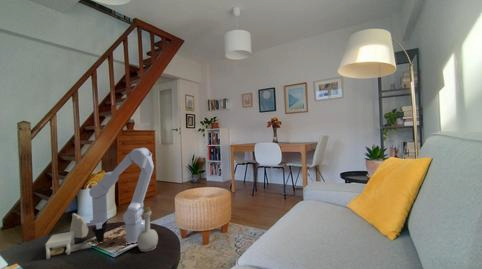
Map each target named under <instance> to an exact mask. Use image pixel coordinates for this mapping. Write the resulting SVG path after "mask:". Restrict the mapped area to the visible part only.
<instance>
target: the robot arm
mask: <svg viewBox="0 0 482 269" xmlns="http://www.w3.org/2000/svg"><path fill="white" fill-rule="evenodd" d="M152 157H153V153H152V152H151V151H150V150H149V148H146V147H140V148H134V149H132V150H131V151H130V152H129V153H127V155H126V156H125V157H124V158H123V160H121V162H119V164H118V165H117V166H116V167H115V168H114V169H113V170H112V171H108V172H105V173H104V174H103V177H102V178H101V179H100V180H98V181H97V182H96V184H95V185H92V186H91V187H90V189H89V191H88V193H89V196H90V197H91V200H92V202H91V204H92V219H90V220H89V223H90V224H94V225H95V227H92V228H91V231H92V232H93V234H94V235H95V239H96V240H97V242H98V243H100V242H103V239H104V240H105V232H106V230H107V227H108V226H107V224H108V221H109V219H108V218H109V217H108V205H107V204H108V202H107V200H108V199H107V198H108V196H107V195H108V193H109V191H110V189H112V187H113V186H114V185H115V184H116V183H117V182H118V181H119V176H120V175H121V174H122V173H123V172H124V171H125V170H126V169H127V168H128V167H129V166H130V165H131V164H136V165H137V166H138V167H139V169H140V173H139V176H138V180H137V183H136V186H135V189H134V193H133V195H132V199H131V202H130V204H129V205H128V207H127V209H126V211H125V212H124V214H123V215H122V220H123V223H124V224H125V238H126V241H127V242H131V243H132V242H137V239H138V236H139V234H140V233H141V232H142V231H144V230H145V219H143V218H142V216H143V213H142V212H144V204H145V203H144V200H145V196H146V194H147V192H148V188H149V185H150V182H151V178H152V175H153V172H154V169H155V167H154V166H155V165H154V162H153V158H152Z"/></svg>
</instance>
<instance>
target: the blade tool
mask: <svg viewBox="0 0 482 269" xmlns="http://www.w3.org/2000/svg"><path fill="white" fill-rule="evenodd" d="M103 241H104V242H105V238H104V239H103ZM85 243H86V242H81V243H77V244H74V245H71V246H70V253H71V252H76V251H80V250H85V249H89V248H92V247H91V246H92V245H88V244H85ZM65 254H67V248H66V250H65Z"/></svg>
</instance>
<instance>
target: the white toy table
mask: <svg viewBox="0 0 482 269" xmlns="http://www.w3.org/2000/svg"><path fill="white" fill-rule="evenodd" d="M71 245H75V238H74V231H71V232H70V231H67V232H63V233H55V234H52V235H51V236H50V237H49V239H48V240H47V242H46V243H45V252H46V253H45V255H46V260H49V259H51V256H50V251H51V250H53V249H56V248H66V249H67V253H66V255H71V252H70V246H71Z"/></svg>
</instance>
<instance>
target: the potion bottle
mask: <svg viewBox="0 0 482 269" xmlns="http://www.w3.org/2000/svg"><path fill="white" fill-rule="evenodd" d="M143 210H144V212H142V213H143V214H142V216H143V217H144V220H145V230H144V231H142V232H141V233H140V234H139V236H138V239H137V243H136V244H137V247H138V249H139V251H140V252H144V253H145V252H150V251H153V250H155V249H156V248H157V245H158V241H159V235H158V233H157V232H158V231H156V229H153V228H151V216H152V210H151V207H150V206H148V207H145V208H143Z"/></svg>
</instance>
